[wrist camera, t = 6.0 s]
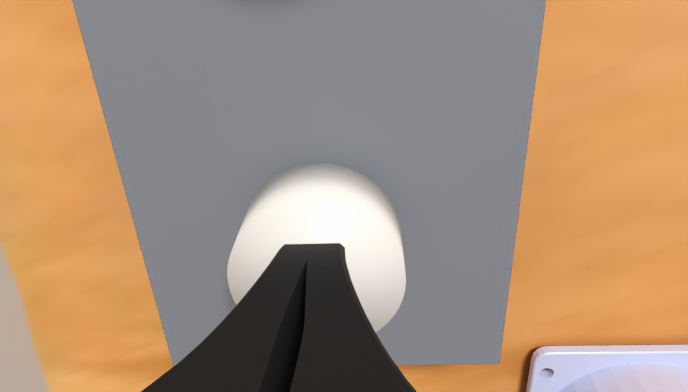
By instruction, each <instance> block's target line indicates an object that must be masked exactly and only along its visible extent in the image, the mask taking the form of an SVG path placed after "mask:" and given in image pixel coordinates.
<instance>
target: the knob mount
mask: <svg viewBox="0 0 688 392" xmlns="http://www.w3.org/2000/svg"><path fill="white" fill-rule="evenodd" d="M72 2H73V5H74V9H75V13H76V16H77V20H78V24H79V27H80V31H81V34H82V38H83V42H84V45H85V49H86V52H87V56H88V60H89V63H90V67H91V70H92V74H93V78H94V81H95V85H96V88H97V92H98V96H99V99H100V103H101V107H102V110H103V114H104V117H105V121H106V125H107V128H108V132H109V135H110V139H111V143H112V146H113V150H114V153H115V157H116V161H117V164H118V168H119V171H120V175H121V179H122V182H123V186H124V190H125V193H126V197H127V200H128V204H129V208H130V211H131V215H132V218H133V222H134V226H135V229H136V233H137V236H138V240H139V244H140V247H141V251H142V254H143V258H144V262H145V265H146V269H147V273H148V276H149V280H150V283H151V287H152V291H153V294H154V298H155V301H156V305H157V309H158V312H159V316H160V319H161V323H162V327H163V330H164V334H165V337H166V341H167V345H168V348H169V352H170V356H171V359H172V363H173V366H175V365H176V364H178V363H179V362H180V361H181V360H182V359H184V358H185V357H186V356H187V355H188V354H189V353H190V352H191V351H192V350H193V349H195V348H196V347H197V346H198V345H199V344H200V343H201V342H202V341H203V340H204V339H205V338H206V337H207V336H208V335H209V334H210V333H211V332H212V331H213V330H214V329H215V328H216V327H217V326H218V325H219V324H220V323H221V322H222V321H223V320H224V318H225V317H226V316H227V315H228V314H229V313H230V312H231V311H232V310H233V309H234V308H235V306H236V303H235V302H234V300H233V297H232V295H231V293H230V289H229V285H228V279H227V267H228V261H229V257H230V254H231V251H232V248H233V246H234V243H235V241H236V238H237V235H238V233H239V230H240V227H241V225H242V222H243V219H244V217H245V214H246V212H247V209H248V206H249V204H250V202H251V200H252V198H253V196H254V195H255V193H256V192H257V191H258V190H259V188H260V187H261V186H262V185H263V184H264V183H265V182H267V181H268V180H269V179H270V178H272V177H273V176H275V175H276V174H278V173H280V172H282V171H284V170H287V169H289V168H292V167H295V166H300V165H304V164H313V163H327V164H334V165H340V166H344V167H347V168H350V169H353V170H355V171H358V172H360V173H362V174H363V175H365V176H367V177H369V178H370V179H371V180H373V181H374V182H375V183H377V184H378V185H379V186H380V187H381V188H382V189H383V190H384V191H385V192H386V194H387V195H388V196H389V197H390V199H391V201H392V202H393V204H394V206H395V208H396V211H397V213H398V217H399V221H400V227H401V236H402V245H403V254H404V263H405V273H406V287H405V293H404V297H403V300H402V302H401V305H400V307H399V309H398V310H397V312H396V313H395V315H394V316H393V317H392V319H391V320H390V321H389V322H388V323H387V324H386V325H385V326H384V327H383V328H382V329H380V330H379V331H377V332H376V334H377V336H378V338H379V339H380V341H381V343H382V344H383V346H384V348H385V349H386V351H387V352H388V354H389V355H390V357H391V358H392V360H393V361H394V363H395V364H396V365H478V364H499V363H500V355H501V347H502V340H503V332H504V324H505V316H506V308H507V301H508V293H509V285H510V277H511V269H512V262H513V254H514V246H515V238H516V230H517V222H518V215H519V207H520V199H521V191H522V183H523V176H524V168H525V160H526V152H527V144H528V137H529V129H530V121H531V113H532V105H533V97H534V90H535V82H536V74H537V66H538V58H539V51H540V43H541V35H542V27H543V19H544V12H545V4H546V0H72Z"/></svg>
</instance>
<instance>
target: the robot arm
mask: <svg viewBox="0 0 688 392" xmlns="http://www.w3.org/2000/svg"><path fill="white" fill-rule="evenodd" d="M545 368H548V369H546V370H543V369H545ZM141 392H416V390H415V389H414V388H413V387H412V386H411V384H410V383H409V382H408V381H407V379H406V378H405V377H404V375H403V374H402V373H401V371H400V370H399V368H398V367H397V366H396V364H395V363H394V361H393V360H392V358H391V357H390V355H389V354H388V352H387V351H386V349H385V348H384V346H383V344H382V343H381V341H380V339H379V338H378V336H377V334H376V333H375V331H374V329H373V327H372V325H371V323H370V321H369V319H368V318H367V316H366V314H365V312H364V309H363V307H362V305H361V303H360V301H359V298H358V296H357V293H356V291H355V289H354V286H353V284H352V281H351V278H350V275H349V271H348V268H347V264H346V259H345V247H344V246H342V245H341V244H340V243H325V244H284V245H283V246H282V247H281V248H280V249H279V251H278V252H277V254H276V255H275V257H274V258H273V259H272V261H271V262H270V264H269V265H268V266H267V268H266V269H265V270H264V272H263V273H262V274H261V276H260V277H259V278H258V280H257V281H256V282H255V283H254V285H253V286H252V287H251V288H250V290H249V291H248V292H247V293H246V295H245V296H244V297H243V298H242V299H241V301H240V302H239V303H238V304H237V305H236V306H235V308H234V309H233V310H232V311H231V312H230V313H229V314H228V315H227V316H226V317H225V318H224V320H223V321H222V322H221V323H220V324H219V325H218V326H217V327H216V328H215V329H214V330H213V331H212V332H211V333H210V334H209V335H208V336H207V337H206V338H205V339H204V340H203V341H202V342H201V343H200V344H199V345H198V346H197V347H196V348H195V349H193V350H192V351H191V352H190V353H189V354H188V355H187V356H186V357H185V358H184V359H182V360H181V361H180V362H179V363H178V364H176V365H175V366H174V367H173V368H171V369H170V370H169V371H167V372H166V373H165V374H164V375H162V376H161V377H160V378H158V379H157V380H156V381H155V382H153V383H152V384H151V385H149V386H148V387H147V388H145V389H144V390H143V391H141ZM526 392H688V345H612V346H545V347H541V348H538V349H537V350H536V351H535V352H533V355H532V358H531V364H530V370H529V376H528V382H527V388H526Z"/></svg>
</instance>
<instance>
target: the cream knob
mask: <svg viewBox="0 0 688 392" xmlns="http://www.w3.org/2000/svg"><path fill="white" fill-rule="evenodd" d="M325 243H340V244H341V245H342V246H344V247H345V259H346V264H347V268H348V271H349V275H350V278H351V281H352V284H353V286H354V289H355V291H356V293H357V296H358V298H359V301H360V303H361V305H362V307H363V309H364V312H365V314H366V316H367V318H368V319H369V321H370V323H371V325H372V327H373V329H374V331H375V333H376V332H377V331H379V330H380V329H382V328H383V327H384V326H385V325H386V324H387V323H388V322H389V321H390V320H391V319H392V317H393V316H394V315H395V313H396V312H397V310H398V309H399V307H400V305H401V302H402V300H403V297H404V293H405V287H406V273H405V263H404V254H403V245H402V236H401V227H400V221H399V217H398V213H397V211H396V208H395V206H394V204H393V202H392V201H391V199H390V197H389V196H388V195H387V194H386V192H385V191H384V190H383V189H382V188H381V187H380V186H379V185H378V184H377V183H375V182H374V181H373V180H371V179H370V178H369V177H367V176H365V175H363V174H362V173H360V172H358V171H355V170H353V169H350V168H347V167H344V166H340V165H334V164H327V163H313V164H304V165H300V166H295V167H292V168H289V169H287V170H284V171H282V172H280V173H278V174H276V175H275V176H273V177H272V178H270V179H269V180H268V181H267V182H265V183H264V184H263V185H262V186H261V187H260V188H259V190H258V191H257V192H256V193H255V195H254V196H253V198H252V200H251V202H250V204H249V206H248V209H247V212H246V214H245V217H244V219H243V222H242V225H241V227H240V230H239V233H238V235H237V238H236V241H235V243H234V246H233V248H232V251H231V254H230V257H229V261H228V267H227V279H228V285H229V289H230V293H231V295H232V297H233V300H234V302H235V303H236V305H237V304H238V303H239V302H240V301H241V299H242V298H243V297H244V296H245V295H246V293H247V292H248V291H249V290H250V288H251V287H252V286H253V285H254V283H255V282H256V281H257V280H258V278H259V277H260V276H261V274H262V273H263V272H264V270H265V269H266V268H267V266H268V265H269V264H270V262H271V261H272V259H273V258H274V257H275V255H276V254H277V252H278V251H279V249H280V248H281V247H282V246H283V245H284V244H325Z"/></svg>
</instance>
